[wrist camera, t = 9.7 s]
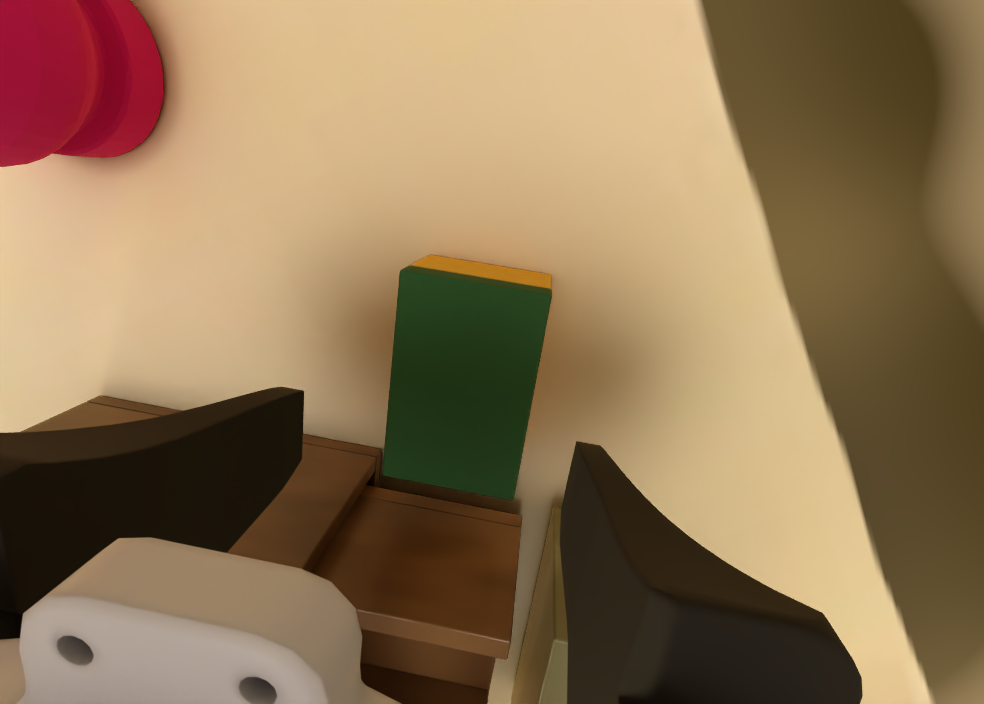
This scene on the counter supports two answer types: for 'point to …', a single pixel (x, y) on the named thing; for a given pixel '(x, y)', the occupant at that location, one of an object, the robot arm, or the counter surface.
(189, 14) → the counter surface
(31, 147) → the pepper mill
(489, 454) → the sponge
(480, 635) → the drawer
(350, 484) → the cabinet
